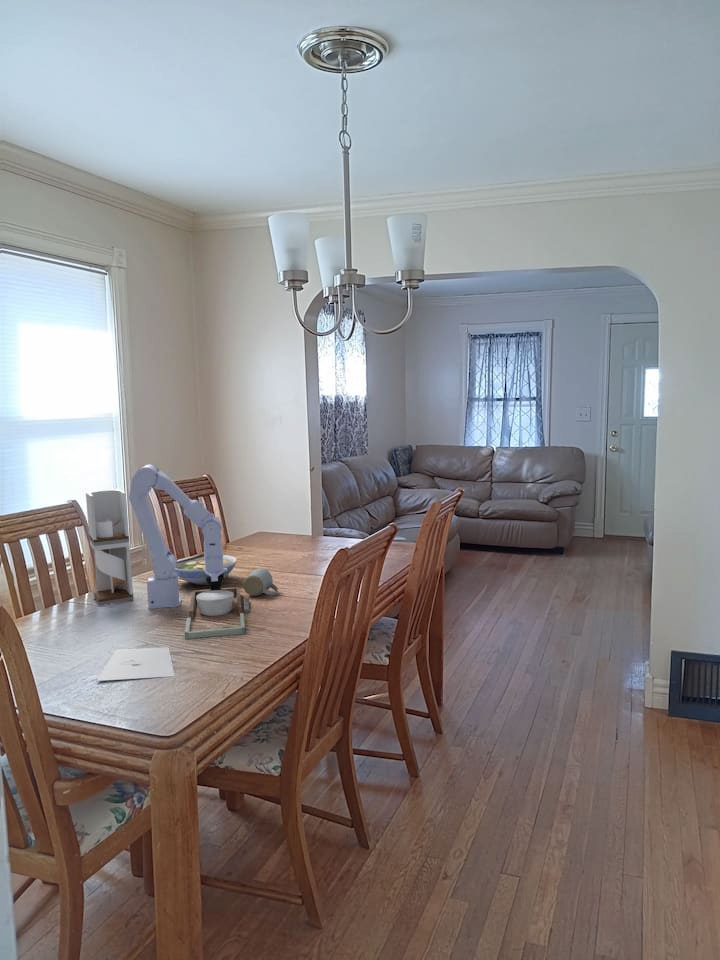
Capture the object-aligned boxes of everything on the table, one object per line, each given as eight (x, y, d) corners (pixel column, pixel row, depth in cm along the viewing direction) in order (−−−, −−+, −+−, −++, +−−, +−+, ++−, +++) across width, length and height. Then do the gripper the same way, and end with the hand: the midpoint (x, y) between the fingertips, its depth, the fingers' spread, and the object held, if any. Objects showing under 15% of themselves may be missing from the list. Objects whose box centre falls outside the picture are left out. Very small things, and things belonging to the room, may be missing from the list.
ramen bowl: (198, 595, 235) (197, 571, 234) (155, 586, 249) (153, 563, 248) (254, 578, 255) (253, 556, 254) (210, 570, 269) (209, 549, 268)
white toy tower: (93, 597, 238) (85, 492, 234) (127, 592, 243) (119, 489, 238) (98, 605, 228) (90, 495, 224) (133, 600, 233) (125, 492, 228)
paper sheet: (118, 649, 189) (118, 645, 188) (230, 647, 190) (230, 643, 190) (89, 684, 165) (89, 679, 165) (217, 682, 166) (216, 677, 166)
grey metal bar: (244, 614, 215) (244, 609, 215) (244, 602, 227) (244, 598, 227) (249, 613, 216) (248, 609, 215) (249, 602, 227) (248, 598, 227)
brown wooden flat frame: (189, 619, 210) (189, 611, 210) (192, 598, 233) (192, 590, 232) (241, 615, 213) (241, 606, 213) (239, 594, 235) (239, 587, 235)
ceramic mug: (242, 596, 233) (241, 573, 232) (251, 589, 241) (251, 567, 240) (273, 598, 230) (272, 575, 229) (281, 591, 238) (281, 568, 237)
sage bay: (184, 638, 194) (184, 633, 194) (187, 622, 207) (187, 617, 207) (245, 633, 197) (244, 627, 197) (243, 617, 210) (243, 612, 210)
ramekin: (230, 604, 225) (229, 587, 224) (238, 614, 215) (237, 597, 214) (194, 609, 221) (193, 592, 220) (200, 619, 211) (199, 602, 210)
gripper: (226, 560, 220) (229, 603, 222) (226, 550, 235) (228, 590, 236) (203, 561, 219) (205, 605, 221) (204, 551, 233) (206, 592, 235)
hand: (216, 598), depth 228 cm, fingers closed
